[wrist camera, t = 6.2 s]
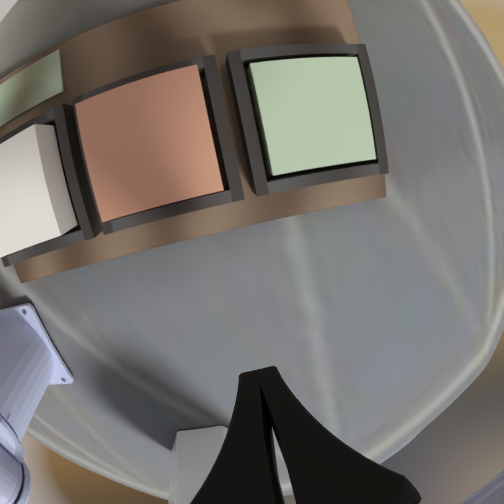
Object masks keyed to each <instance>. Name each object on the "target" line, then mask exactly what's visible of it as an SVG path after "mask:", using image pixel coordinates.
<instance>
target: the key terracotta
mask: <svg viewBox="0 0 504 504" xmlns="http://www.w3.org/2000/svg"><path fill="white" fill-rule="evenodd" d="M75 106H76V113H77V119H78V124H79V130H80V135H81V140H82V145H83V150H84V155H85V159H86V164H87V168H88V172H89V176H90V180H91V184H92V188H93V192H94V196H95V199H96V203H97V206H98V210H99V213H100V217H101V220H102V222H105V221H109V220H112V219H115V218H119V217H122V216H126V215H129V214H133V213H136V212H140V211H143V210H147V209H151V208H154V207H158V206H162V205H165V204H169V203H173V202H177V201H181V200H185V199H189V198H193V197H197V196H201V195H206V194H210V193H214V192H218V191H223V190H224V189H223V185H222V180H221V175H220V171H219V166H218V162H217V157H216V152H215V148H214V143H213V138H212V134H211V129H210V124H209V119H208V115H207V110H206V105H205V100H204V95H203V91H202V86H201V81H200V76H199V71H198V66H197V65H192V66H188V67H184V68H180V69H176V70H172V71H168V72H164V73H161V74H157V75H154V76H150V77H147V78H144V79H141V80H137V81H134V82H131V83H128V84H125V85H122V86H120V87H117V88H114V89H111V90H109V91H106V92H103V93H101V94H98V95H96V96H93V97H91V98H88V99H86V100H84V101H81V102H79V103H77V104H75Z"/></svg>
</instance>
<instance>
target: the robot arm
mask: <svg viewBox="0 0 504 504" xmlns="http://www.w3.org/2000/svg"><path fill="white" fill-rule="evenodd" d="M24 309H25V310H26V311H25V310H24ZM73 381H74V378H73V376H72V374H71V373H70V371H69V370H68V368H67V367H66V365H65V363H64V362H63V360H62V359H61V357H60V355H59V354H58V352H57V350H56V348H55V347H54V345H53V343H52V341H51V340H50V338H49V336H48V334H47V332H46V330H45V329H44V327H43V325H42V323H41V321H40V319H39V317H38V315H37V313H36V311H35V309H34V307H33V306H32V305H31V304H30V303H26V304H21V305H17V306H13V307H8V308H4V309H0V504H27V502H28V500H29V496H30V491H31V478H30V473H29V469H28V467H27V465H26V464H25V463H24V462H23V460H24V457H25V454H26V450H25V449H24V448H23V447H22V446H21V445H20V443H21V440H22V438H23V436H24V434H25V432H26V429H27V427H28V425H29V423H30V421H31V419H32V416H33V414H34V412H35V410H36V408H37V406H38V404H39V402H40V400H41V398H42V396H43V394H44V392H45V390H46V388H47V386H48V384H71V383H72V382H73ZM272 428H273V430H274V433H275V436H276V439H277V442H278V444H279V447H280V450H281V452H282V455H283V458H284V461H285V463H286V466H287V469H288V473H289V477H290V481H291V485H292V489H293V493H294V497H295V500H296V504H419V502H420V501H421V497H420V494H419V492H418V491H417V490H416V488H415V487H414V486H413V485H412V483H411V482H410V481H409V480H408V479H406V477H405V476H403V475H401V474H398V473H396V472H394V471H391V470H389V469H387V468H385V467H383V466H381V465H379V464H377V463H375V462H373V461H372V460H370V459H368V458H366V457H365V456H363V455H361V454H360V453H358V452H357V451H355V450H354V449H352V448H351V447H349V446H348V445H346V444H345V443H343V442H342V441H341V440H339V439H338V438H337V437H335V436H334V435H333V434H332V433H331V432H329V431H328V430H327V429H326V428H325V427H324V426H322V425H321V424H320V423H319V422H318V421H317V420H316V419H315V418H314V417H313V416H312V415H311V414H310V413H309V412H308V411H307V410H306V409H305V407H304V406H303V405H302V404H301V403H300V402H299V400H298V399H297V398H296V397H295V396H294V394H293V393H292V392H291V390H290V389H289V388H288V386H287V385H286V383H285V382H284V380H283V379H282V377H281V375H280V373H279V371H278V369H277V367H275V366H271V367H267V368H262V369H258V370H254V371H249V372H244V373H241V374H240V375H239V383H238V391H237V397H236V402H235V406H234V410H233V414H232V418H231V422H230V425H229V428H228V431H227V434H226V437H225V440H224V442H223V445H222V447H221V450H220V452H219V454H218V456H217V459H216V461H215V463H214V465H213V467H212V469H211V471H210V472H209V474H208V476H207V478H206V480H205V481H204V483H203V485H202V486H201V488H200V489H199V491H198V492H197V494H196V495H195V497H194V498H193V500H192V501H191V503H190V504H285V502H284V498H283V494H282V490H281V486H280V482H279V476H278V471H277V463H276V455H275V447H274V440H273V432H272ZM458 504H504V469H503V470H502V471H501V472H500V473H499V474H497V475H496V476H495V477H494V478H493V479H491V480H490V481H489V482H488V483H486V484H485V485H484V486H482V487H481V488H480V489H478V490H477V491H476V492H474V493H473V494H471V495H470V496H469V497H467V498H466V499H464V500H463V501H461V502H460V503H458Z"/></svg>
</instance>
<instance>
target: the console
mask: <svg viewBox="0 0 504 504" xmlns="http://www.w3.org/2000/svg"><path fill="white" fill-rule="evenodd" d="M315 57H357V59H358V63H359V68H360V72H361V76H362V81H363V85H364V90H365V95H366V100H367V105H368V110H369V116H370V122H371V128H372V134H373V141H374V148H375V155H376V159H372V160H365V161H357V162H350V163H344V164H337V165H331V166H324V167H318V168H312V169H306V170H301V171H295V172H290V173H284V174H279V175H274V176H273V175H271V174H268V173H266V171H265V166H264V161H263V155H262V150H261V145H260V140H259V135H258V130H257V126H256V121H255V116H254V111H253V106H252V101H251V97H250V92H249V87H248V83H247V78H246V71H247V69H248V67H249V65H250V63H257V62H265V61H274V60H284V59H297V58H315ZM192 65H197V66H198V71H199V76H200V81H201V86H202V91H203V95H204V100H205V105H206V110H207V115H208V119H209V124H210V129H211V134H212V138H213V143H214V148H215V152H216V157H217V162H218V166H219V171H220V175H221V180H222V185H223V189H224V190H223V191H218V192H214V193H210V194H206V195H201V196H197V197H193V198H189V199H185V200H181V201H177V202H173V203H169V204H165V205H162V206H158V207H154V208H151V209H147V210H143V211H140V212H136V213H133V214H129V215H126V216H122V217H119V218H115V219H112V220H109V221H105V222H102V220H101V217H100V213H99V210H98V206H97V203H96V199H95V196H94V192H93V188H92V184H91V180H90V176H89V172H88V168H87V164H86V159H85V155H84V150H83V145H82V140H81V135H80V130H79V124H78V119H77V113H76V106H75V104H77V103H79V102H81V101H84V100H86V99H88V98H91V97H93V96H96V95H98V94H101V93H103V92H106V91H109V90H111V89H114V88H117V87H120V86H122V85H125V84H128V83H131V82H134V81H137V80H141V79H144V78H147V77H150V76H154V75H157V74H161V73H164V72H168V71H172V70H176V69H180V68H184V67H188V66H192ZM34 124H40V125H53V126H54V129H55V135H56V140H57V146H58V151H59V155H60V160H61V165H62V169H63V173H64V178H65V182H66V186H67V189H68V193H69V197H70V201H71V204H72V208H73V211H74V215H75V218H76V221H77V224H78V225H76V226H75V227H73V228H72V229H70V230H69V231H67V232H66V233H64V234H63V235H61V236H58V237H55V238H53V239H50V240H47V241H44V242H41V243H38V244H35V245H33V246H30V247H27V248H24V249H22V250H19V251H16V252H14V253H11V254H9V255H6V256H3V257H1V259H2V261H3V264H4V267H7V266H9V265H12V264H14V267H15V270H16V272H17V275H18V277H19V280H20V282H21V283H24V282H27V281H31V280H34V279H38V278H41V277H45V276H49V275H52V274H56V273H59V272H63V271H67V270H70V269H74V268H78V267H81V266H85V265H89V264H93V263H96V262H100V261H104V260H108V259H112V258H116V257H119V256H123V255H127V254H131V253H135V252H139V251H143V250H147V249H151V248H155V247H159V246H163V245H167V244H171V243H175V242H179V241H184V240H188V239H192V238H196V237H200V236H205V235H209V234H213V233H217V232H222V231H226V230H230V229H235V228H239V227H244V226H248V225H253V224H257V223H262V222H266V221H271V220H275V219H280V218H284V217H289V216H294V215H298V214H303V213H308V212H313V211H317V210H322V209H327V208H332V207H337V206H342V205H347V204H352V203H357V202H362V201H367V200H372V199H377V198H383V197H386V188H385V177H384V174H386V173H389V171H388V162H387V154H386V146H385V139H384V132H383V126H382V119H381V114H380V108H379V103H378V97H377V92H376V88H375V83H374V78H373V74H372V70H371V66H370V61H369V58H368V54H367V50H366V46H365V44H360V42H359V38H358V35H357V31H356V28H355V24H354V21H353V18H352V15H351V12H350V9H349V6H348V3H347V0H181V1H176V2H172V3H168V4H164V5H160V6H157V7H153V8H149V9H146V10H143V11H139V12H136V13H133V14H130V15H127V16H124V17H121V18H119V19H116V20H113V21H110V22H108V23H105V24H103V25H100V26H98V27H95V28H93V29H90V30H88V31H86V32H84V33H81V34H79V35H77V36H75V37H73V38H71V39H69V40H66V41H64V42H62V43H60V44H59V45H57V46H55V47H53V48H51V49H49V50H47V51H45V52H44V53H42V54H40V55H38V56H37V57H35V58H33V59H31V60H30V61H28V62H26V63H25V64H23V65H22V66H20V67H19V68H17V69H15V70H14V71H12V72H11V73H9V74H8V75H6V76H5V77H4V78H2V79H1V80H0V144H2V143H3V142H5V141H6V140H8V139H10V138H11V137H13V136H15V135H16V134H18V133H20V132H21V131H23V130H25V129H27V128H28V127H30V126H32V125H34Z"/></svg>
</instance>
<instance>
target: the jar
mask: <svg viewBox="0 0 504 504" xmlns="http://www.w3.org/2000/svg"><path fill="white" fill-rule="evenodd" d="M227 431H228V428H227V427H225V426H222V425H221V426H215V427H208V428H201V429H193V430H184V431H178V432H177V434H176V437H175V441H174V444H173V447H172V451H171V460H170V481H169V504H190V503H191V501H192V500H193V498H194V497H195V495H196V494H197V492H198V491H199V489H200V488H201V486H202V485H203V483H204V481H205V480H206V478H207V476H208V474H209V472H210V471H211V469H212V467H213V465H214V463H215V461H216V459H217V456H218V454H219V452H220V450H221V447H222V445H223V442H224V440H225V437H226V434H227Z"/></svg>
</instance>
